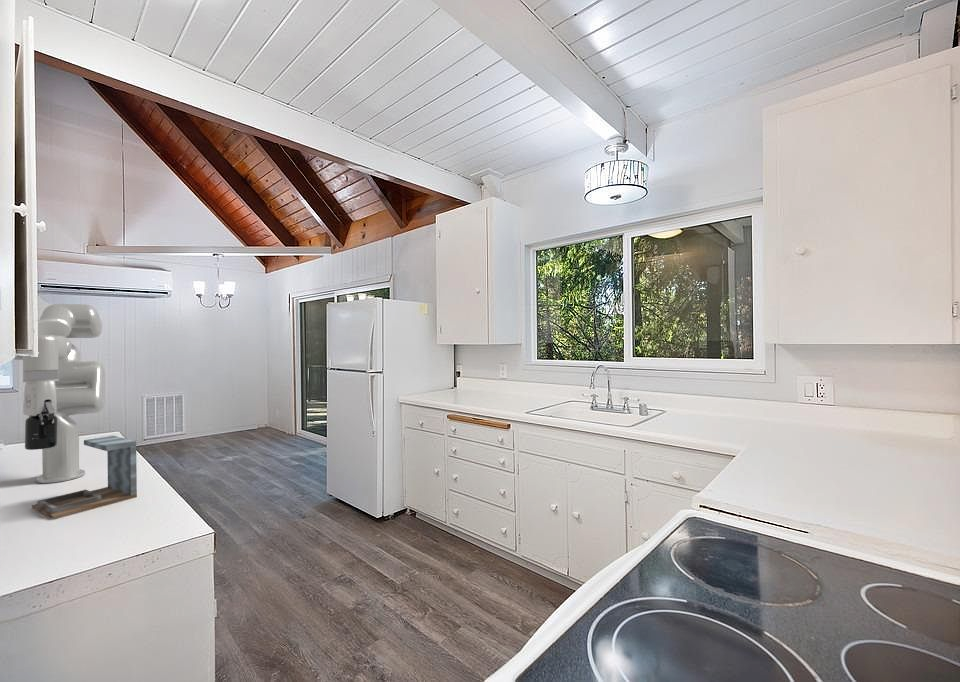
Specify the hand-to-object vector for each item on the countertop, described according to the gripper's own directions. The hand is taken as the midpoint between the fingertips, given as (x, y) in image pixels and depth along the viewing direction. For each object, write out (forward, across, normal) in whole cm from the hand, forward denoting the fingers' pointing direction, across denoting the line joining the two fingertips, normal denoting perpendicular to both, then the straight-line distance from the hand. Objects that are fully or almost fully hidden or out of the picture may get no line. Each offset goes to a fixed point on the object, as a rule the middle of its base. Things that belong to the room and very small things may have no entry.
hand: (41, 436), depth 131 cm
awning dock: (+21, +8, +8) cm, 23 cm away
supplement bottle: (+4, 0, 0) cm, 4 cm away
